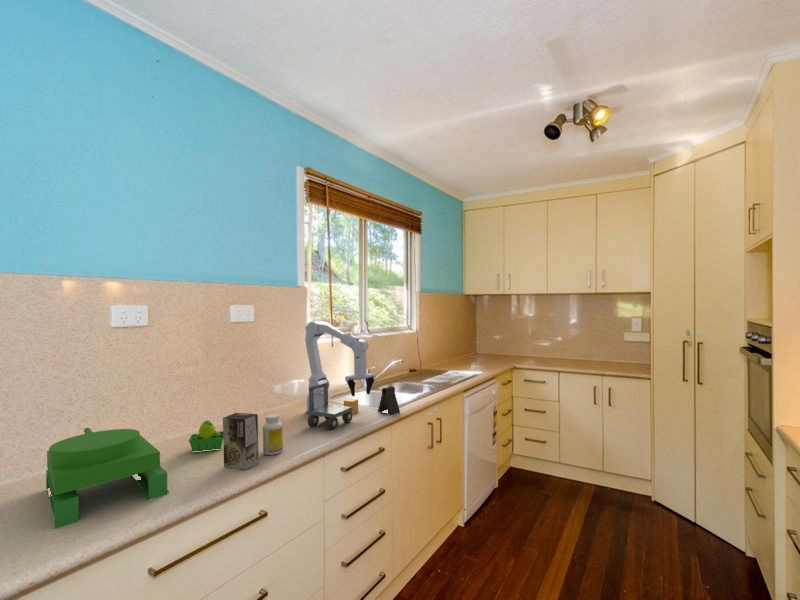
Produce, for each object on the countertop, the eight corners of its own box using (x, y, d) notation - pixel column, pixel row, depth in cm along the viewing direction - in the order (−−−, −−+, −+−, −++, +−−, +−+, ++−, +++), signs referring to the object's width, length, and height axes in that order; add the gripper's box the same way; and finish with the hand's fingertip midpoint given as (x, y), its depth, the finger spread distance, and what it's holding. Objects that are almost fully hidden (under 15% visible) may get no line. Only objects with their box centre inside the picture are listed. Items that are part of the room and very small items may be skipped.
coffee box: (259, 463, 132) (258, 413, 132) (246, 470, 126) (245, 419, 126) (237, 460, 135) (236, 411, 135) (222, 467, 129) (222, 417, 129)
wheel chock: (340, 414, 190) (340, 402, 190) (349, 410, 197) (349, 398, 197) (349, 415, 188) (348, 403, 188) (358, 411, 195) (358, 399, 195)
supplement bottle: (286, 450, 143) (286, 414, 143) (273, 456, 137) (273, 419, 137) (272, 448, 146) (271, 412, 146) (258, 454, 140) (258, 417, 140)
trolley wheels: (307, 427, 170) (307, 415, 170) (330, 417, 184) (330, 406, 184) (330, 431, 165) (330, 418, 165) (352, 420, 179) (352, 409, 179)
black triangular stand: (400, 412, 191) (399, 387, 191) (391, 415, 187) (390, 389, 187) (386, 409, 197) (386, 385, 198) (377, 412, 193) (377, 387, 193)
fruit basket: (225, 444, 151) (225, 414, 152) (223, 452, 143) (222, 420, 143) (192, 448, 148) (191, 417, 148) (187, 456, 139) (187, 423, 139)
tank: (140, 463, 136) (139, 415, 136) (169, 495, 111) (168, 435, 111) (44, 487, 119) (43, 431, 119) (53, 530, 94) (52, 460, 94)
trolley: (308, 414, 172) (307, 387, 172) (326, 407, 183) (326, 381, 184) (334, 418, 166) (334, 389, 166) (352, 410, 177) (351, 384, 177)
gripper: (349, 368, 180) (349, 398, 180) (378, 365, 187) (378, 394, 187) (343, 366, 186) (343, 395, 186) (371, 363, 194) (372, 391, 193)
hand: (360, 394), depth 187 cm, fingers open, 7 cm apart
